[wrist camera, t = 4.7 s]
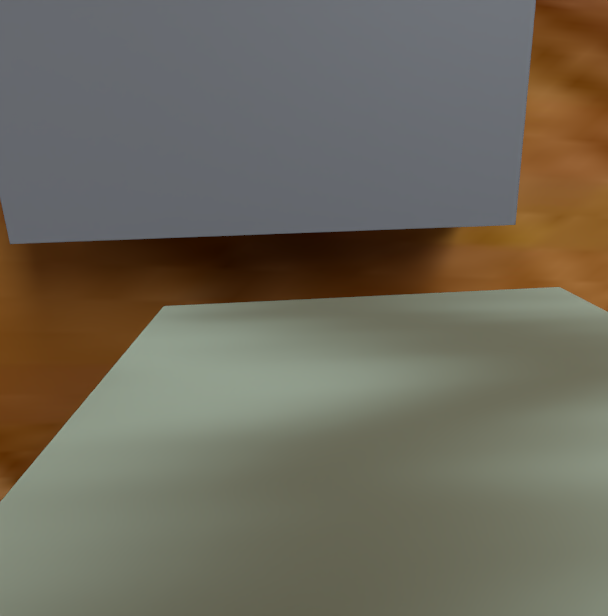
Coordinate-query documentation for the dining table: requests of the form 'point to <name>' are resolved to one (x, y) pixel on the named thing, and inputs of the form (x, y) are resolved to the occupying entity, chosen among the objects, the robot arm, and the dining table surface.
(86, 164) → the plinth
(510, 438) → the green cube
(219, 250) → the dining table surface
